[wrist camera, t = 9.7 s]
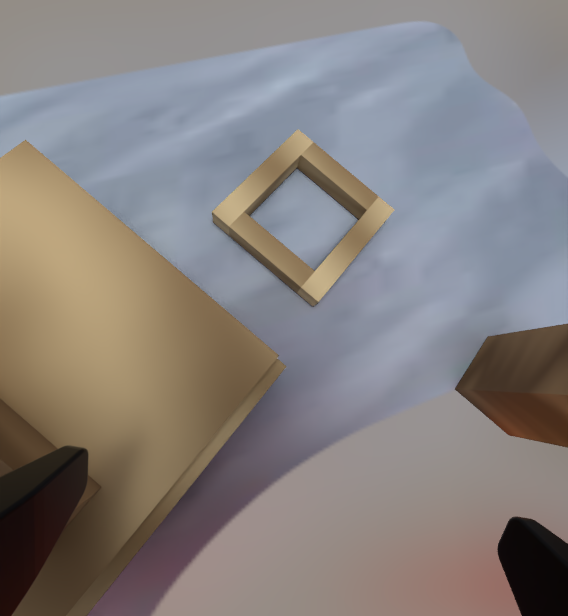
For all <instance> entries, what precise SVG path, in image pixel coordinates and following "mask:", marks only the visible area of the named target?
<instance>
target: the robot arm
mask: <svg viewBox="0 0 568 616" xmlns="http://www.w3.org/2000/svg"><path fill="white" fill-rule="evenodd" d="M88 459H89V454H88V450H87V449H86V448H84V447H77V446H71V445H66V446H63V447H61V448H59V449H57V450H55V451H53V452H50V453H48V454H46V455H44V456H42V457H40V458H38V459H36V460H34V461H32V462H30V463H28V464H26V465H23V466H21V467H19V468H17V469H15V470H13V471H11V472H9V473H7V474H5V475H3V476H1V477H0V616H12V614H13V613H14V612H15V610H16V609H17V607H18V606H19V604H20V603H21V601H22V600H23V598H24V597H25V595H26V593H27V592H28V590H29V589H30V587H31V586H32V584H33V583H34V581H35V579H36V578H37V576H38V574H39V573H40V571H41V569H42V567H43V566H44V564H45V562H46V560H47V559H48V557H49V555H50V553H51V551H52V550H53V548H54V546H55V544H56V542H57V541H58V539H59V537H60V535H61V533H62V532H63V530H64V528H65V526H66V524H67V523H68V521H69V519H70V517H71V515H72V514H73V512H74V510H75V508H76V506H77V505H78V503H79V501H80V499H81V497H82V496H83V494H84V491H85V489H86V486H87V481H88ZM498 556H499V559H500V562H501V564H502V567H503V570H504V572H505V575H506V577H507V580H508V582H509V584H510V587H511V589H512V592H513V594H514V597H515V600H516V602H517V605H518V607H519V610H520V612H521V615H522V616H568V544H567V543H565V542H564V541H563V540H562V539H560V538H559V537H557V536H556V535H555V534H553V533H552V532H551V531H549V530H548V529H546V528H545V527H544V526H542V525H540V524H539V523H538V522H536V521H535V520H532V519H528V518H521V517H512V518H511V519H510V520H509V521H508V523H507V526H506V528H505V530H504V533H503V534H502V537H501V539H500V541H499V543H498Z"/></svg>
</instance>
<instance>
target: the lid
mask: <svg viewBox="0 0 568 616" xmlns="http://www.w3.org/2000/svg"><path fill="white" fill-rule="evenodd" d="M278 356H279V355H278V354H277V353H275V352H274V351H273V350H272V349H271V348H269V347H268V346H267V345H266V344H265V343H264V342H262V341H261V340H260V339H259V338H258V337H257V336H255V335H254V334H253V333H252V332H251V331H250V330H248V329H247V328H246V327H245V326H244V325H242V324H241V323H240V322H239V321H238V320H237V319H235V318H234V317H233V316H232V315H231V314H230V313H228V312H227V311H226V310H225V309H224V308H223V307H221V306H220V305H219V304H218V303H217V302H215V301H214V300H213V299H212V298H211V297H210V296H208V295H207V294H206V293H205V292H204V291H203V290H201V289H200V288H199V287H198V286H197V285H195V284H194V283H193V282H192V281H191V280H190V279H188V278H187V277H186V276H185V275H184V274H183V273H181V272H180V271H179V270H178V269H177V268H176V267H174V266H173V265H172V264H171V263H170V262H168V261H167V260H166V259H165V258H164V257H163V256H161V255H160V254H159V253H158V252H157V251H156V250H154V249H153V248H152V247H151V246H150V245H148V244H147V243H146V242H145V241H144V240H143V239H141V238H140V237H139V236H138V235H137V234H136V233H134V232H133V231H132V230H131V229H130V228H129V227H127V226H126V225H125V224H124V223H123V222H121V221H120V220H119V219H118V218H117V217H116V216H114V215H113V214H112V213H111V212H110V211H109V210H107V209H106V208H105V207H104V206H103V205H102V204H100V203H99V202H98V201H97V200H96V199H94V198H93V197H92V196H91V195H90V194H89V193H87V192H86V191H85V190H84V189H83V188H82V187H80V186H79V185H78V184H77V183H76V182H74V181H73V180H72V179H71V178H70V177H69V176H67V175H66V174H65V173H64V172H63V171H62V170H60V169H59V168H58V167H57V166H56V165H55V164H53V163H52V162H51V161H50V160H49V159H47V158H46V157H45V156H44V155H43V154H42V153H40V152H39V151H38V150H37V149H36V148H35V147H33V146H32V145H31V144H30V143H29V142H27V141H26V140H25V141H23V142H22V143H20V144H19V145H18V146H16V147H15V148H14V149H12V150H11V151H9V152H8V153H7V154H5V155H4V156H2V157H1V158H0V477H1V476H3V475H5V474H7V473H9V472H11V471H13V470H15V469H17V468H19V467H21V466H23V465H26V464H28V463H30V462H32V461H34V460H36V459H38V458H40V457H42V456H44V455H46V454H48V453H50V452H53V451H55V450H57V449H59V448H61V447H63V446H66V445H71V446H77V447H84V448H86V449H87V450H88V454H89V459H88V481H87V486H86V489H85V491H84V494H83V496H82V497H81V499H80V501H79V503H78V505H77V506H76V508H75V510H74V512H73V514H72V515H71V517H70V519H69V521H68V523H67V524H66V526H65V528H64V530H63V532H62V533H61V535H60V537H59V539H58V541H57V542H56V544H55V546H54V548H53V550H52V551H51V553H50V555H49V557H48V559H47V560H46V562H45V564H44V566H43V567H42V569H41V571H40V573H39V574H38V576H37V578H36V579H35V581H34V583H33V584H32V586H31V587H30V589H29V590H28V592H27V593H26V595H25V597H24V598H23V600H22V601H21V603H20V604H19V606H18V607H17V609H16V610H15V612H14V613H13V614H12V616H66V615H67V614H68V613H69V611H70V610H71V609H72V608H73V607H74V605H75V604H76V603H77V602H78V600H79V599H80V598H81V597H82V596H83V594H84V593H85V592H86V591H87V589H88V588H89V587H90V586H91V585H92V583H93V582H94V581H95V580H96V578H97V577H98V576H99V575H100V574H101V572H102V571H103V570H104V569H105V567H106V566H107V565H108V564H109V563H110V561H111V560H112V559H113V558H114V557H115V555H116V554H117V553H118V552H119V550H120V549H121V548H122V547H123V546H124V544H125V543H126V542H127V541H128V539H129V538H130V537H131V536H132V535H133V533H134V532H135V531H136V530H137V528H138V527H139V526H140V525H141V524H142V522H143V521H144V520H145V519H146V517H147V516H148V515H149V514H150V513H151V511H152V510H153V509H154V508H155V506H156V505H157V504H158V503H159V502H160V500H161V499H162V498H163V497H164V495H165V494H166V493H167V492H168V491H169V489H170V488H171V487H172V486H173V484H174V483H175V482H176V481H177V480H178V478H179V477H180V476H181V475H182V473H183V472H184V471H185V470H186V469H187V467H188V466H189V465H190V464H191V462H192V461H193V460H194V459H195V458H196V456H197V455H198V454H199V453H200V451H201V450H202V449H203V448H204V447H205V445H206V444H207V443H208V442H209V440H210V439H211V438H212V437H213V436H214V434H215V433H216V432H217V431H218V429H219V428H220V427H221V426H222V425H223V423H224V422H225V421H226V420H227V418H228V417H229V416H230V415H231V414H232V412H233V411H234V410H235V409H236V408H237V406H238V405H239V404H240V403H241V401H242V400H243V399H244V398H245V397H246V395H247V394H248V393H249V392H250V390H251V389H252V388H253V387H254V386H255V384H256V383H257V382H258V381H259V379H260V378H261V377H262V376H263V375H264V373H265V372H266V371H267V370H268V368H269V367H270V366H271V365H272V364H273V362H274V361H275V360H276V359H277V357H278Z"/></svg>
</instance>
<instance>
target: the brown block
mask: <svg viewBox="0 0 568 616" xmlns="http://www.w3.org/2000/svg"><path fill="white" fill-rule="evenodd" d="M455 390H456V391H458V392H459V393H460V394H461V395H462V396H463V397H465V398H466V399H467V400H468V401H469V402H470V403H472V404H473V405H474V406H475V407H476V408H478V409H479V410H480V411H481V412H482V413H483V414H485V415H486V416H487V417H488V418H489V419H491V420H492V421H493V422H494V423H495V424H496V425H497V426H499V427H500V428H501V429H502V430H503V431H504V432H506V433H507V434H508V435H510V436H515V437H520V438H525V439H530V440H534V441H540V442H544V443H549V444H554V445H559V446H563V447H568V324H563V325H556V326H550V327H544V328H538V329H532V330H525V331H519V332H513V333H507V334H501V335H495V336H488V337H487V339H486V340H485V342H484V343H483V345H482V347H481V348H480V350H479V351H478V353H477V355H476V356H475V358H474V359H473V361H472V363H471V364H470V366H469V367H468V369H467V371H466V372H465V374H464V375H463V377H462V379H461V380H460V382H459V383H458V385H457V387H456V388H455Z"/></svg>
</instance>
